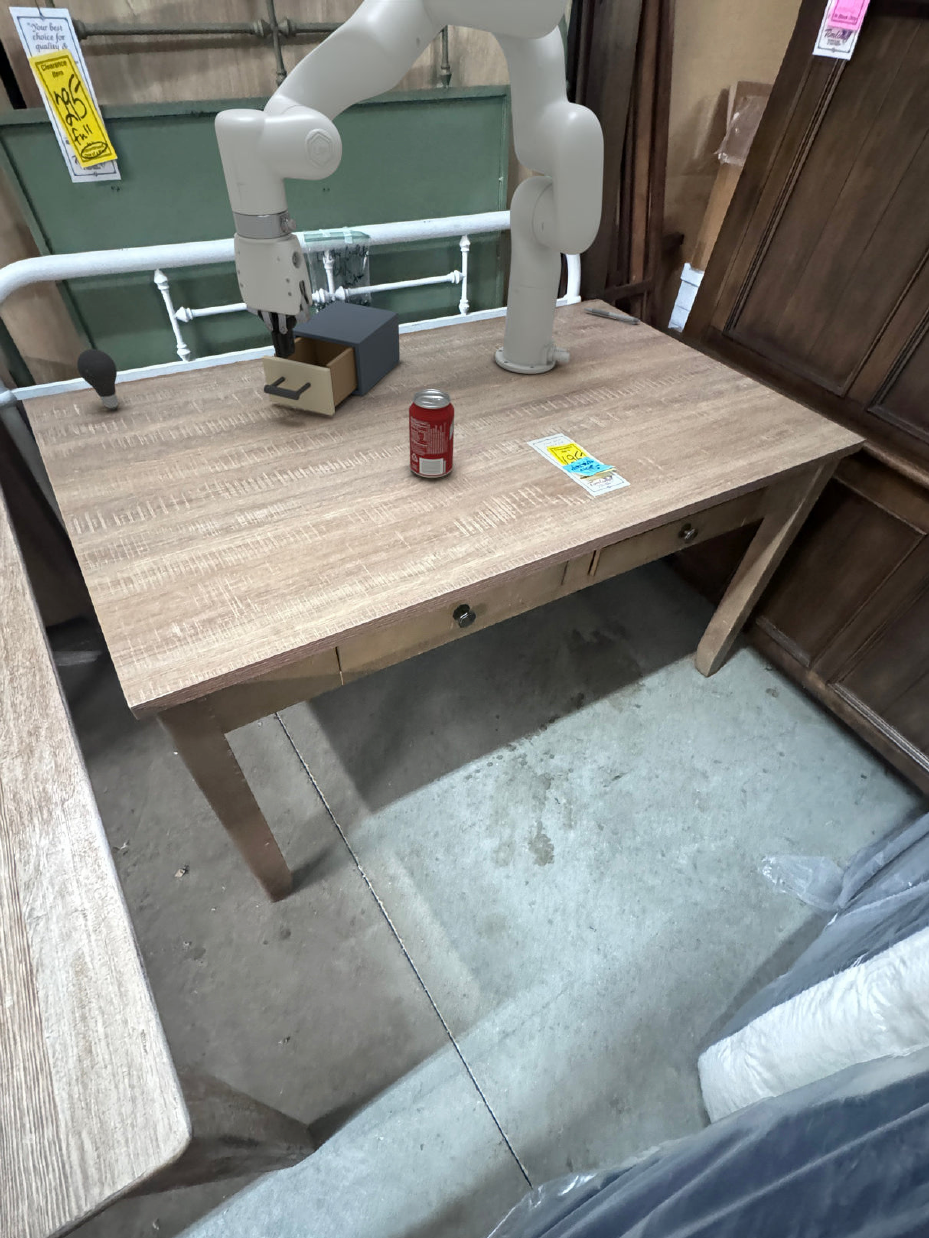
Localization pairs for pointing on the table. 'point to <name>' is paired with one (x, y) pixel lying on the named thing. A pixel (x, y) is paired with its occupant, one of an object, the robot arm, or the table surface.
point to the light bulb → (99, 375)
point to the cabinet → (358, 338)
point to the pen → (614, 315)
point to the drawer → (312, 375)
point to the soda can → (431, 433)
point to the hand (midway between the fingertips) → (285, 354)
